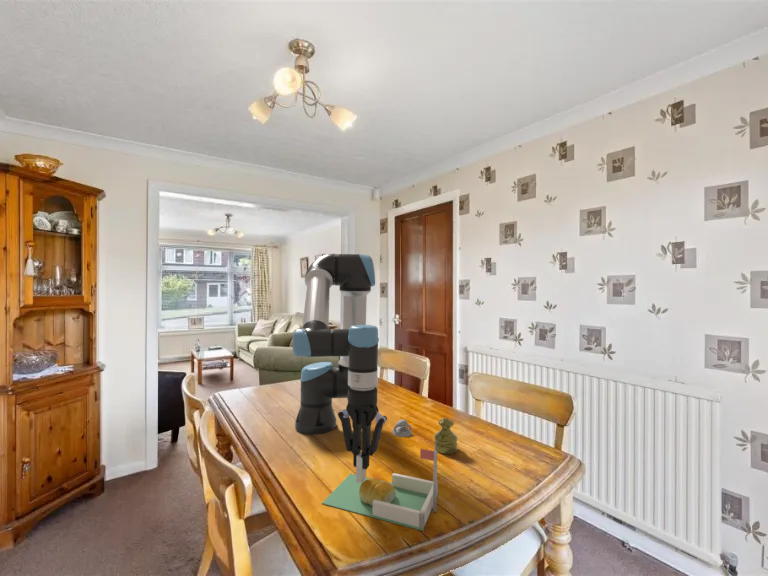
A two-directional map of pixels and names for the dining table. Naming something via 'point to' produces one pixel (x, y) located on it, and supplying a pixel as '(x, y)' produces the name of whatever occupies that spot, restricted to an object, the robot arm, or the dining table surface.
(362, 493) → the bread roll
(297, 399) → the dining table surface
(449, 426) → the olive green sack
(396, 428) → the miniature
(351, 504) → the green mat
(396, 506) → the white u-shaped piece
